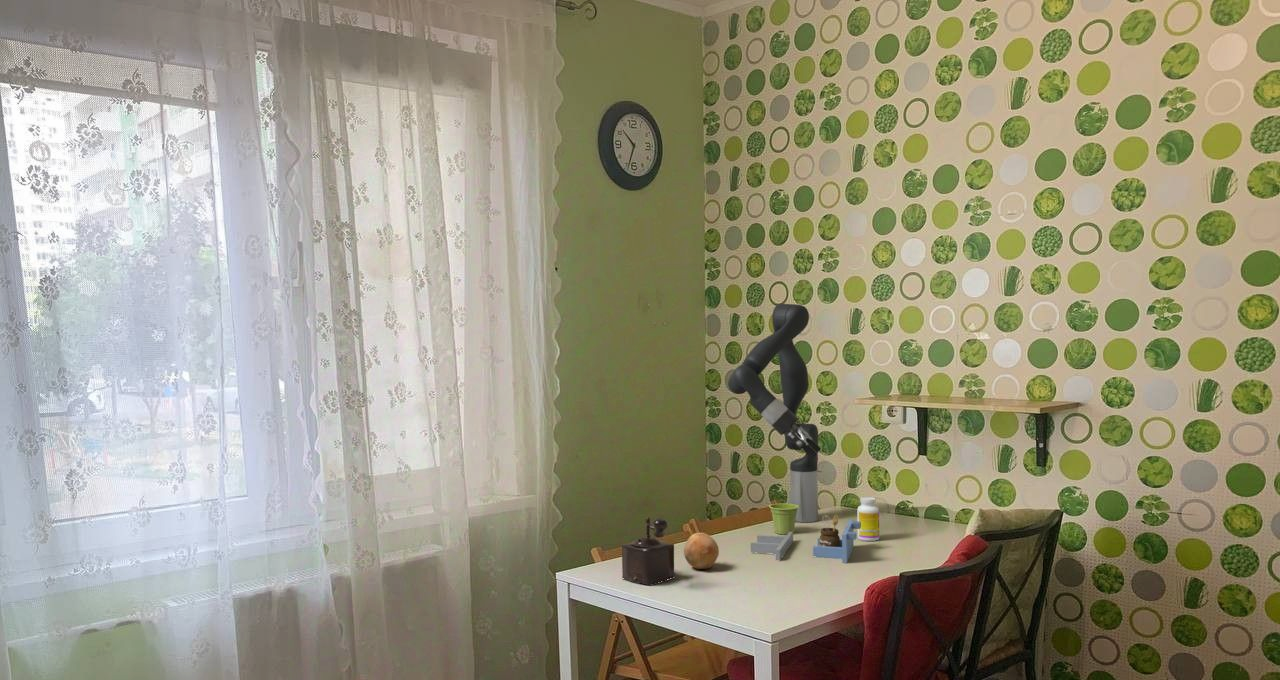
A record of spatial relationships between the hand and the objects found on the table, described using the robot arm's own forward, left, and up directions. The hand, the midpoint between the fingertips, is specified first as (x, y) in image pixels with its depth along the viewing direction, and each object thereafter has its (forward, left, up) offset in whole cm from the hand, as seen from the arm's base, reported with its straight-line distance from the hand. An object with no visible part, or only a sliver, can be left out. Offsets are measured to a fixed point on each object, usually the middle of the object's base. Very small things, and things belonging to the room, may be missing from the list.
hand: (817, 453), depth 284 cm
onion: (+8, -47, -28) cm, 55 cm away
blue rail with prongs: (+15, -5, -27) cm, 31 cm away
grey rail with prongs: (0, -19, -27) cm, 33 cm away
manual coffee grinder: (+12, -64, -28) cm, 71 cm away
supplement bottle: (+5, +15, -28) cm, 32 cm away
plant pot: (-16, -2, -28) cm, 32 cm away
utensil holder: (+13, -6, -28) cm, 31 cm away
